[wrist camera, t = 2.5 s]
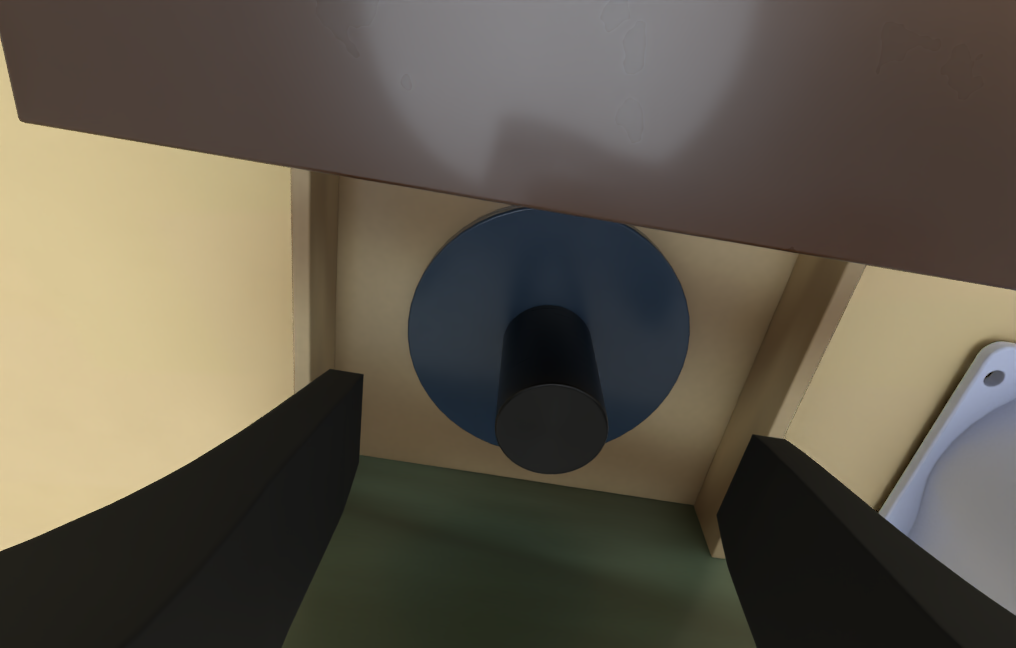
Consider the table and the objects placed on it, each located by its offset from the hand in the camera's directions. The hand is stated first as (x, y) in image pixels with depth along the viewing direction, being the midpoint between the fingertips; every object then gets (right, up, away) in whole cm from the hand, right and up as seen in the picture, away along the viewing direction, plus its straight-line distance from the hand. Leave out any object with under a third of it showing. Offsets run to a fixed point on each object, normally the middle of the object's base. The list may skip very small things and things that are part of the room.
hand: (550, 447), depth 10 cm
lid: (0, +2, +4) cm, 5 cm away
